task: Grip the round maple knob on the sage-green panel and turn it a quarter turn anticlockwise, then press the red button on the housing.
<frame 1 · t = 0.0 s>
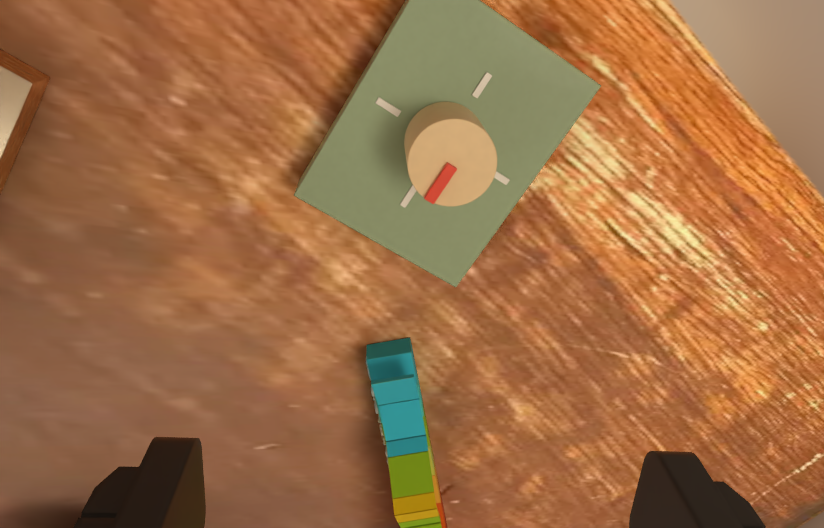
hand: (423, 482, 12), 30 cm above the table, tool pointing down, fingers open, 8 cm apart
knob: (448, 153, 35), point 5 cm above the table, hinge at 0.0°
chart: (422, 511, 52), on the table
panel: (439, 129, 40), on the table
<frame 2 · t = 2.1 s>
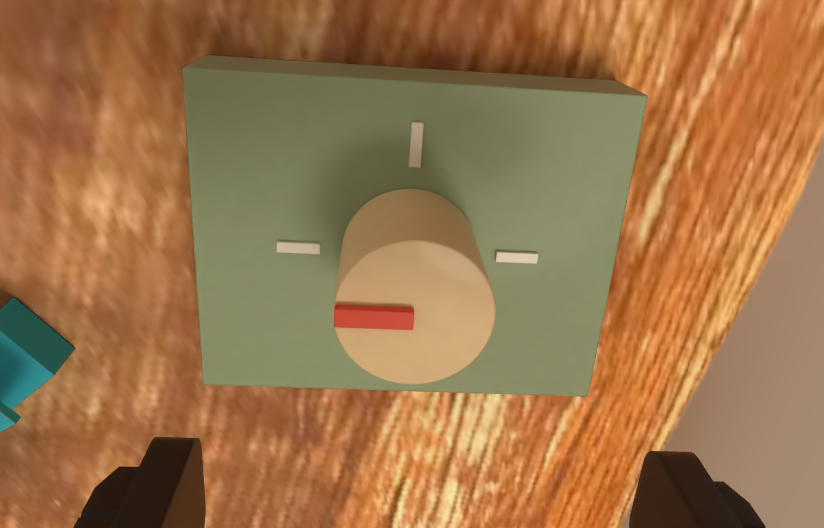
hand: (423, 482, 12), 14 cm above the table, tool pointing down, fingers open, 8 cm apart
knob: (411, 283, 20), point 5 cm above the table, hinge at 0.0°
panel: (405, 220, 25), on the table
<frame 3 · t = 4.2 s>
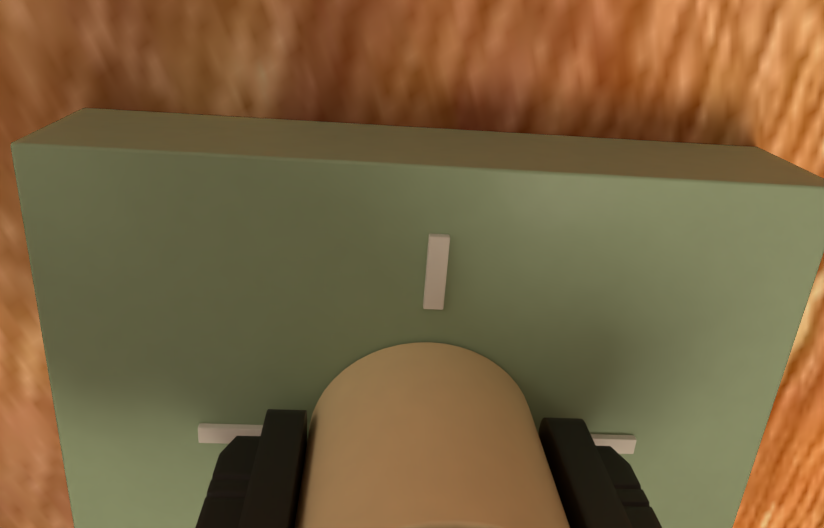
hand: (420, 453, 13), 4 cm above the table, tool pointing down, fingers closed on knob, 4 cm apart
panel: (413, 357, 16), on the table
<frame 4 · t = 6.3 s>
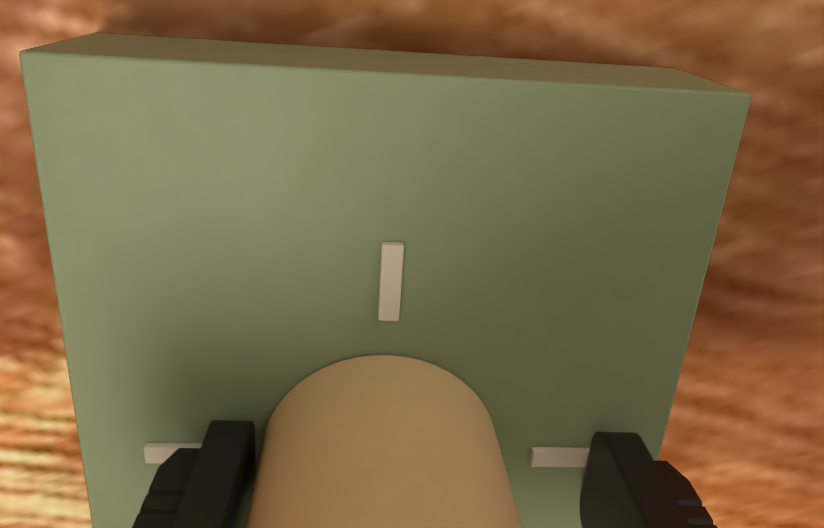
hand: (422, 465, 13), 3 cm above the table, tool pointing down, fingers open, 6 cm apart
panel: (377, 367, 16), on the table
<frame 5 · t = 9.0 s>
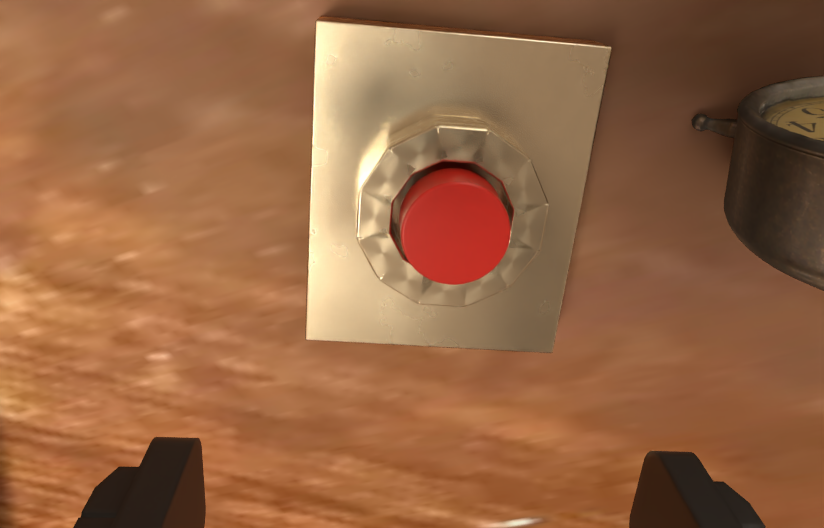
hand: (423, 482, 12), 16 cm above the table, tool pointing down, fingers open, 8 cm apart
button: (453, 226, 23), point 4 cm above the table, slide at 0.1 cm
button box: (441, 187, 27), on the table
alarm clock: (798, 138, 27), on the table
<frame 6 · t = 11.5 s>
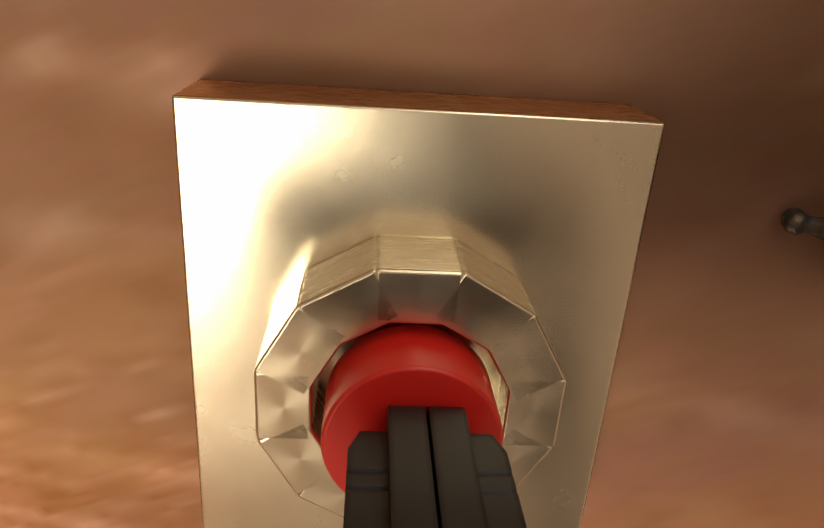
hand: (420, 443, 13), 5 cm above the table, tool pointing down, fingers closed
button: (410, 419, 14), point 4 cm above the table, slide at -0.1 cm, touching gripper
button box: (403, 321, 18), on the table
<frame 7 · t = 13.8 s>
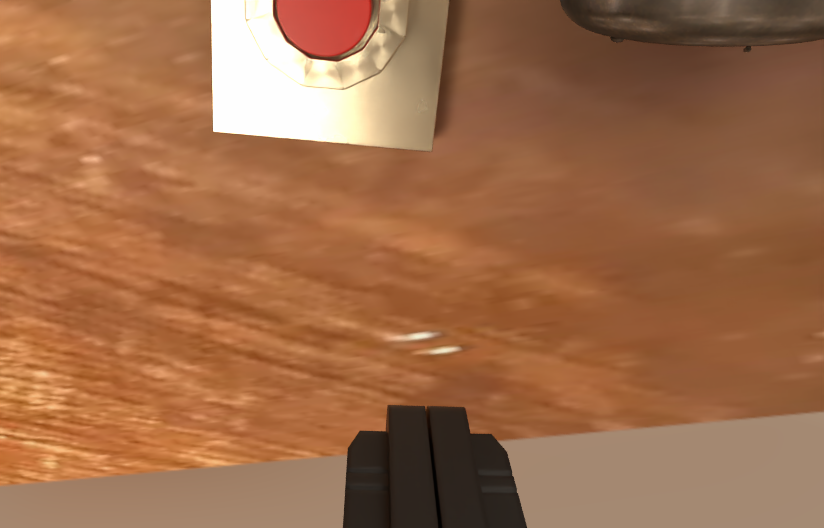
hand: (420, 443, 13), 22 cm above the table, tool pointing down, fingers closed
button: (325, 6, 27), point 4 cm above the table, slide at 0.1 cm
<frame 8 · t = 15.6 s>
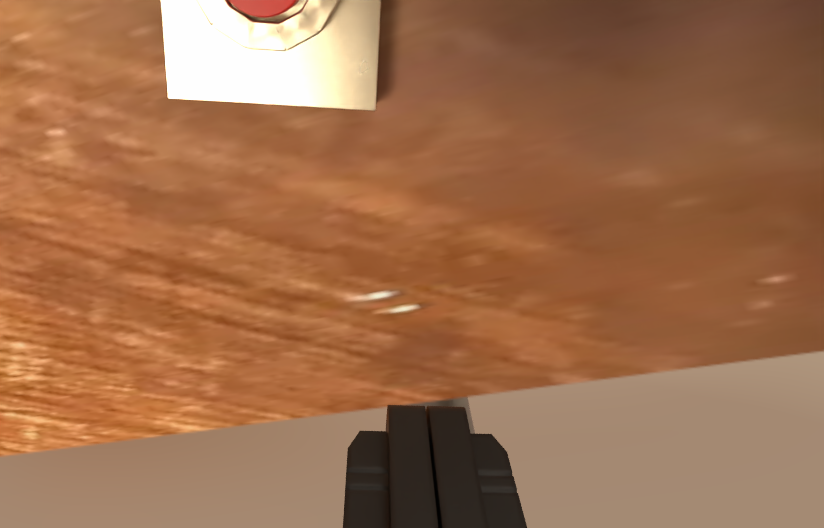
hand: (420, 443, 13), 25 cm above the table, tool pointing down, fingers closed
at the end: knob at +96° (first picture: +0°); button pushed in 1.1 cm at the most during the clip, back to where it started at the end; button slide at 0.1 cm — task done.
